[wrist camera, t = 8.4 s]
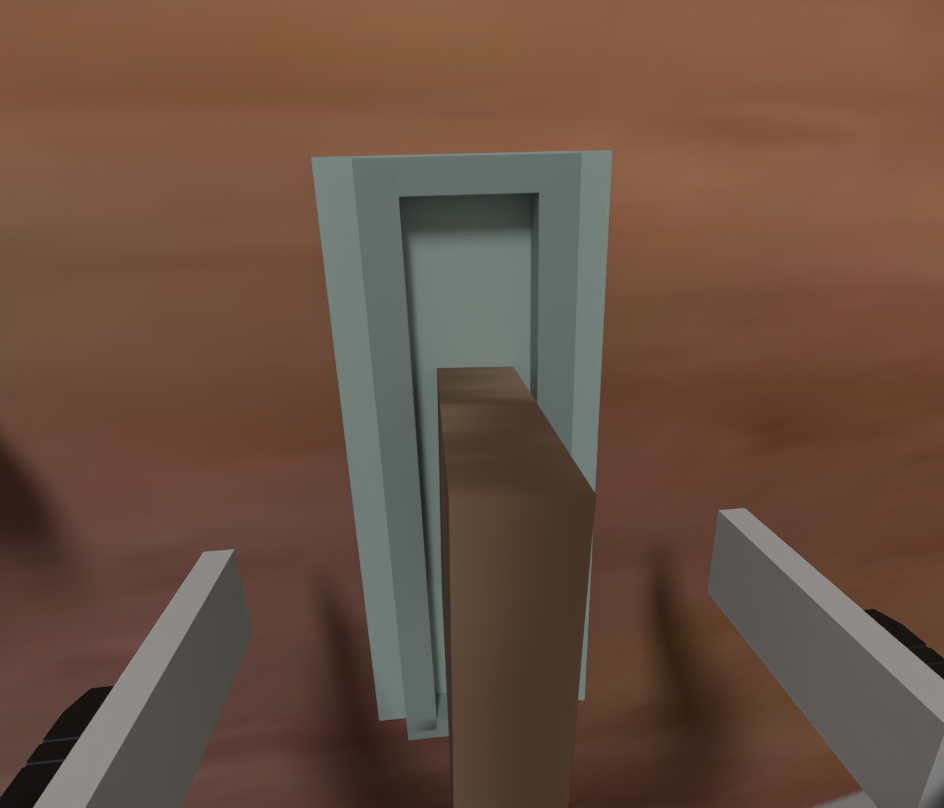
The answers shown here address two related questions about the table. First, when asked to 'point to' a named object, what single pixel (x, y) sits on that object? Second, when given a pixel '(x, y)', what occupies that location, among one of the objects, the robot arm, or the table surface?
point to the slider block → (510, 590)
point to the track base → (451, 356)
